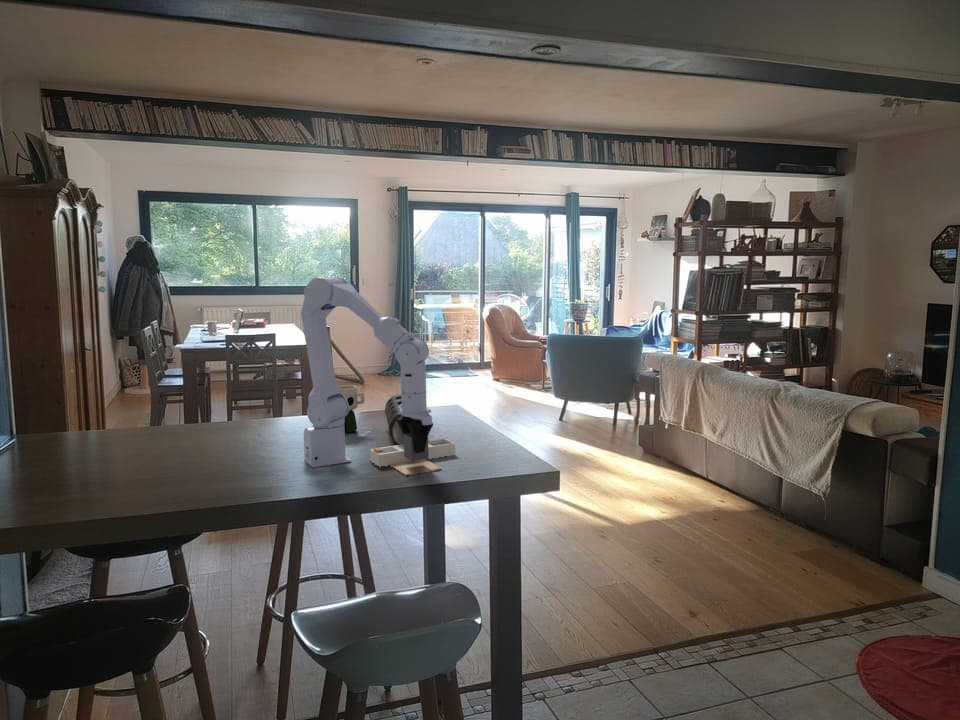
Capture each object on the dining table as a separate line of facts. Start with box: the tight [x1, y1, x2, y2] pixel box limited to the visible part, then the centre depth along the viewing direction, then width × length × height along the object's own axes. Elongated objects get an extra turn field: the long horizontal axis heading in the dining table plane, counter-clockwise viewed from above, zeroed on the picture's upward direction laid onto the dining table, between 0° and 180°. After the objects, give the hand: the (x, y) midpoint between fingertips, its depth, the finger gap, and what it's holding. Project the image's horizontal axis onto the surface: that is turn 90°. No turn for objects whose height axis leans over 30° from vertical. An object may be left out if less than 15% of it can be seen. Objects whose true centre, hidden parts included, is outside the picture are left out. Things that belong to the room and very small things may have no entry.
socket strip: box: [369, 437, 456, 468], centre depth 166 cm, size 20×6×4 cm, turn 120°
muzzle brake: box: [384, 393, 404, 445], centre depth 185 cm, size 10×28×10 cm, turn 11°
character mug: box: [339, 384, 365, 433], centre depth 194 cm, size 11×7×13 cm, turn 101°
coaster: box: [389, 459, 443, 477], centre depth 158 cm, size 9×9×1 cm
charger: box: [404, 433, 430, 461], centre depth 158 cm, size 4×4×6 cm
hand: (415, 449), depth 158 cm, fingers closed on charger, 4 cm apart
